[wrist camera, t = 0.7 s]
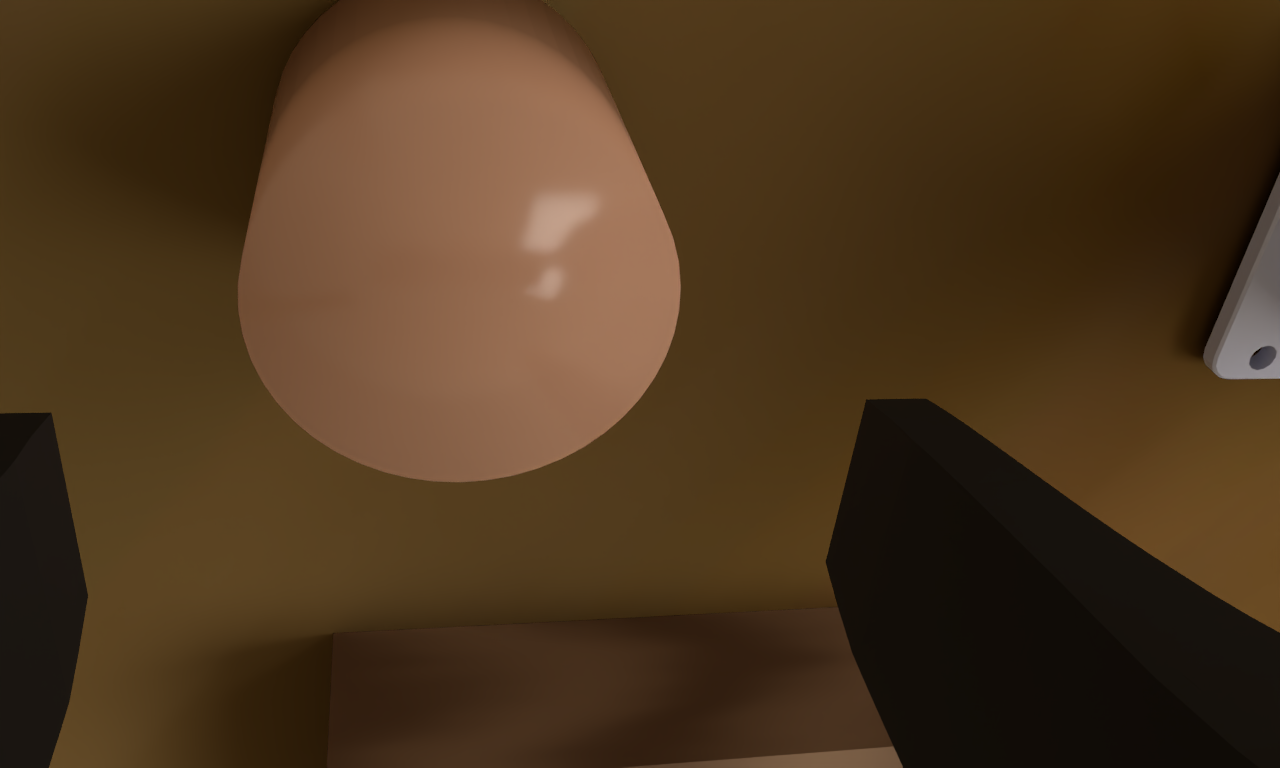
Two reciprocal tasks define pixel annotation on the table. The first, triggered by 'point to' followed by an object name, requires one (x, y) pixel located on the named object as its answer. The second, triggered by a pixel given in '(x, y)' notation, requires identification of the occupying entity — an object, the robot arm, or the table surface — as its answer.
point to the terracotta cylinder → (453, 242)
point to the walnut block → (607, 695)
